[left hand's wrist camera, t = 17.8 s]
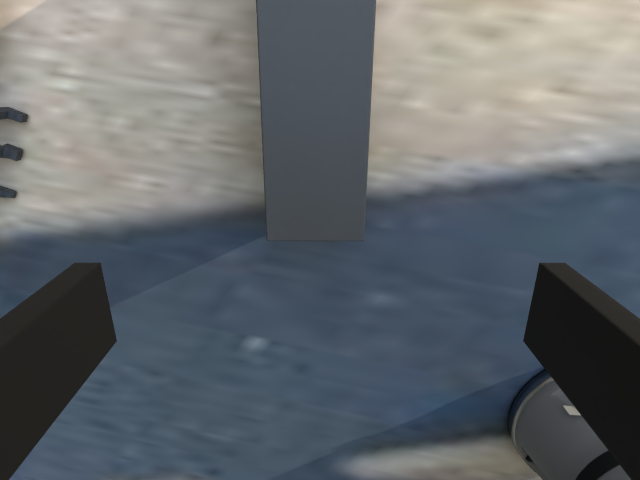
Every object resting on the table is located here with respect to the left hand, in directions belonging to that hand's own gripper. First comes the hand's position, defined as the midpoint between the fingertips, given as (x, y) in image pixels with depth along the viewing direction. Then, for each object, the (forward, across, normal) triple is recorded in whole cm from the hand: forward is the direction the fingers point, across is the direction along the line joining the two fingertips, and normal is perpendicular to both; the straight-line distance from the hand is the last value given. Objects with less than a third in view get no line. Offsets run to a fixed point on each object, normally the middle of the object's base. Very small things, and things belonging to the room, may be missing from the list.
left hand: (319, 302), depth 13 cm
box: (+23, 0, -8) cm, 24 cm away
